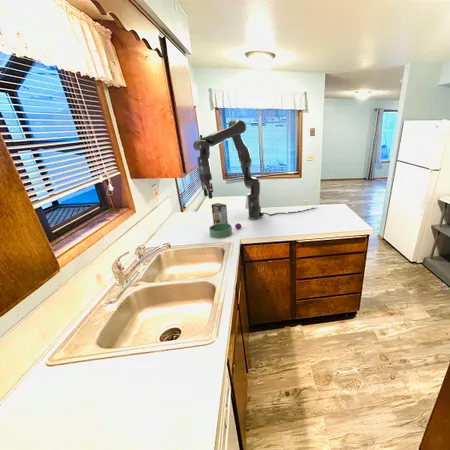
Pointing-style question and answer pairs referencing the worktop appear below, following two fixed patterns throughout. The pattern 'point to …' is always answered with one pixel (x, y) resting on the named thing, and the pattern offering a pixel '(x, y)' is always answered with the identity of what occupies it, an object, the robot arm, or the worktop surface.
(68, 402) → the worktop surface
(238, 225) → the ball
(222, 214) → the coffee box
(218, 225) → the bowl
